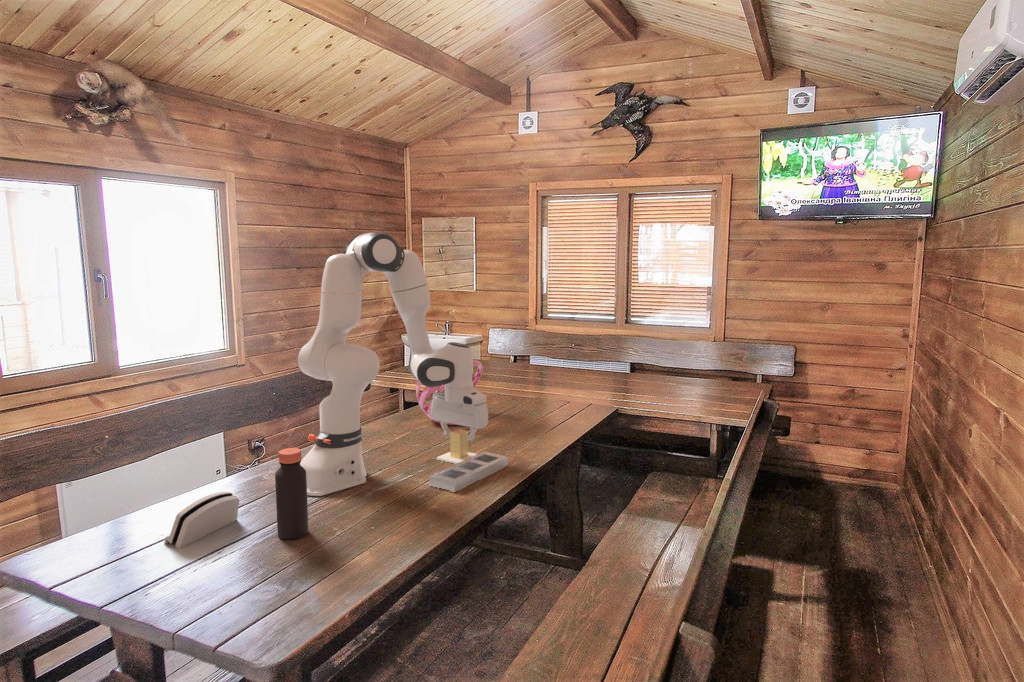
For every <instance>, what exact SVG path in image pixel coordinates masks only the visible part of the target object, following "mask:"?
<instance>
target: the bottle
mask: <svg viewBox="0 0 1024 682" xmlns="http://www.w3.org/2000/svg"><path fill="white" fill-rule="evenodd" d="M301 460H302V450H301V449H300V448H297V447H287V448H283V449H280V450H279V451H278V463H279V465H280V467H279V468H278V469H277V470H276V472H274V473H275V474H274V482H275V484H274V485H275V486H274V487H275V504H276V524H277V525H276V528H277V536H278V537H279V538H280V539H282V540H288V541H292V540H298V539H301V538H303V537H305V536H306V535H307V534H308V532H309V514H308V513H309V512H308V495H307V480H306V470H305V469H304V468H303V467H302V466H301V465H300V462H301Z"/></svg>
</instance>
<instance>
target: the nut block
mask: <svg viewBox="0 0 1024 682" xmlns="http://www.w3.org/2000/svg"><path fill="white" fill-rule="evenodd" d="M468 434H469V430H464V429H460V428H457V429H454V430H452V431H451V430H450V435H449V438H450V439H449V440H450V441H449V442H450V443H449V447H450V449H449V450H450V451H449V452H450V457H454V458H458V459H461V458H464V457H466V456H468V452H469V440H467V438H468V437H467V435H468Z"/></svg>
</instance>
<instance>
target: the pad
mask: <svg viewBox="0 0 1024 682" xmlns="http://www.w3.org/2000/svg"><path fill="white" fill-rule="evenodd" d="M477 454H478V453H475V452H469V451H468V456H466V457H464V458H461V459H458V458H454V457H450V451H448V452H445V453H443V454H441V455H438V456H437V457H435V459H436V461H439V460H441V461H440V462H443V461H445V462H444V463H447V462H450V463H449V464H451V463H454V464H453V465H455V464H457V463H459V462H461V461H463V460H466V459H468V458H470V457H472V456H475V455H477Z"/></svg>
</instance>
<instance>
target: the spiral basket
mask: <svg viewBox="0 0 1024 682" xmlns="http://www.w3.org/2000/svg"><path fill="white" fill-rule="evenodd" d="M474 367H477V369H476V372H475V374H474V376H472V382H473V388H474V389H475V387H476V386H477V384H478V382H479V380H480V379H481V377H482V374H483V372H484V366H483V364H482V363H481V362H480V361H479V360H477V359H473V368H474ZM422 385H423V384H422V383H421V382H420V381H419V380H418V379H416V387H415V395H416V399H417V402H418V404H419V407H420V409H421V410H422V412H423V413H424V414H425V415H426V417H429V418H430V420H432V421H434V422H436V423H438V424H440V421H439V420H434V419H432V417H431V407H432V401H433V399H432V400H431V402H430V403H427V404H425V405H424V403H425V402H426V398H427V397H430V396H431V395H433V394H434V392H436V391H441V392H445V385H440V386H436V387H428V386H425V387H424V388H423V390H422V391H420V389H421V386H422ZM435 394H436V393H435ZM447 426H459V425H458V424H453V423H447Z"/></svg>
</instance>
